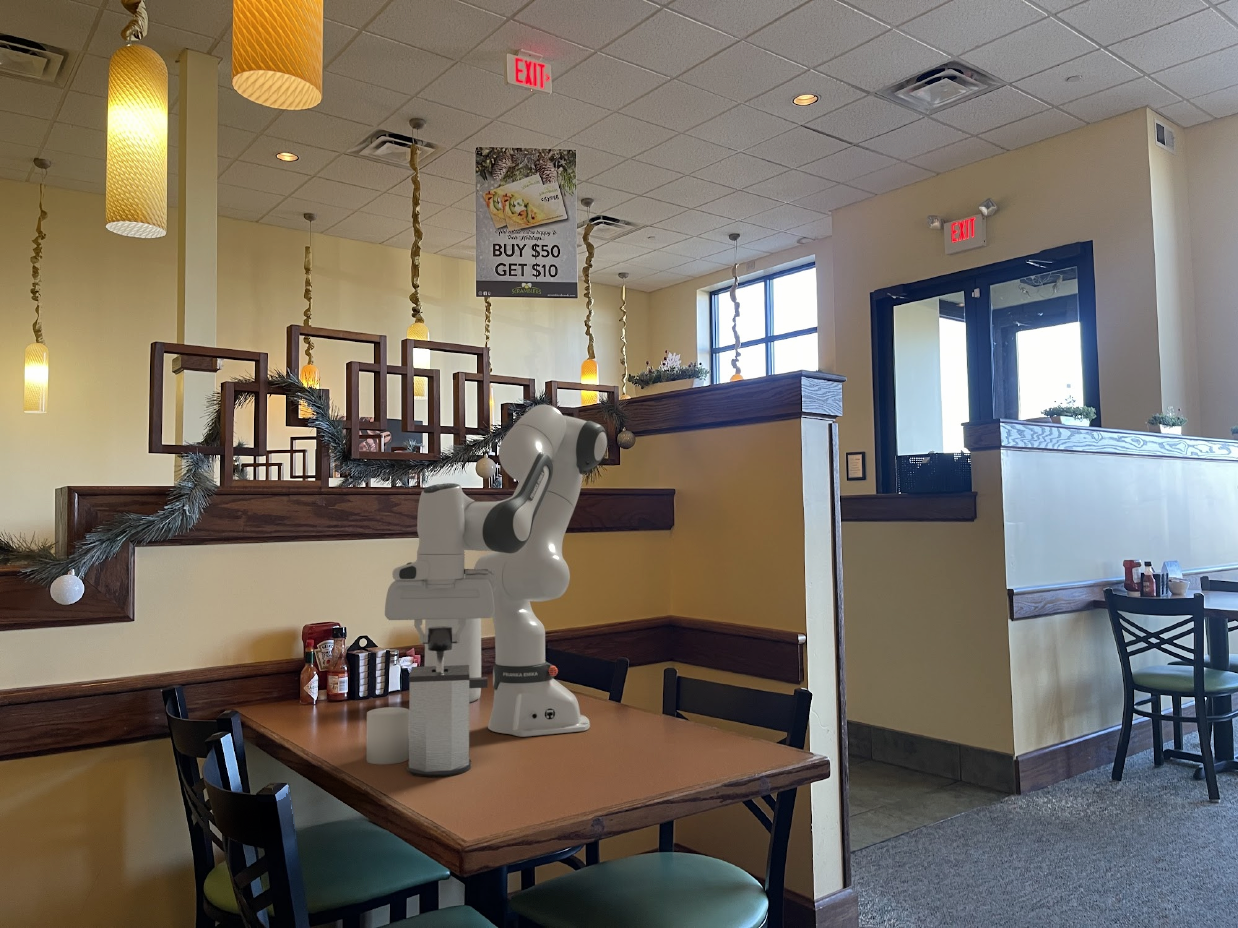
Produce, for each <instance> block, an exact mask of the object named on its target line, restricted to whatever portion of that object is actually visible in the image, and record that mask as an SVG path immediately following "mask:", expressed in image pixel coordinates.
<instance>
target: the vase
mask: <svg viewBox="0 0 1238 928" xmlns="http://www.w3.org/2000/svg"><path fill="white" fill-rule="evenodd" d="M464 578H465V575H464ZM424 621H425V623H424V624H425V625H424V628H425V630H424V631H425V632H424V634H428V628H430V627H439V626H446V627H452V633H456V632H457V631H458V629H459V627H460V625H459V624H458V619H426V620H424ZM454 665H469V678H478V677H482V618H474V619H466V625H465V627H464V629H463V630H462V632H461V634H460V643H452V649H451V650H447V651H444V666H454ZM424 666H436V651H429V650H428V644H424ZM481 691H482V688H469V703H472V702H475V701H477V700H478V699H480V697H481Z"/></svg>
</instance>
